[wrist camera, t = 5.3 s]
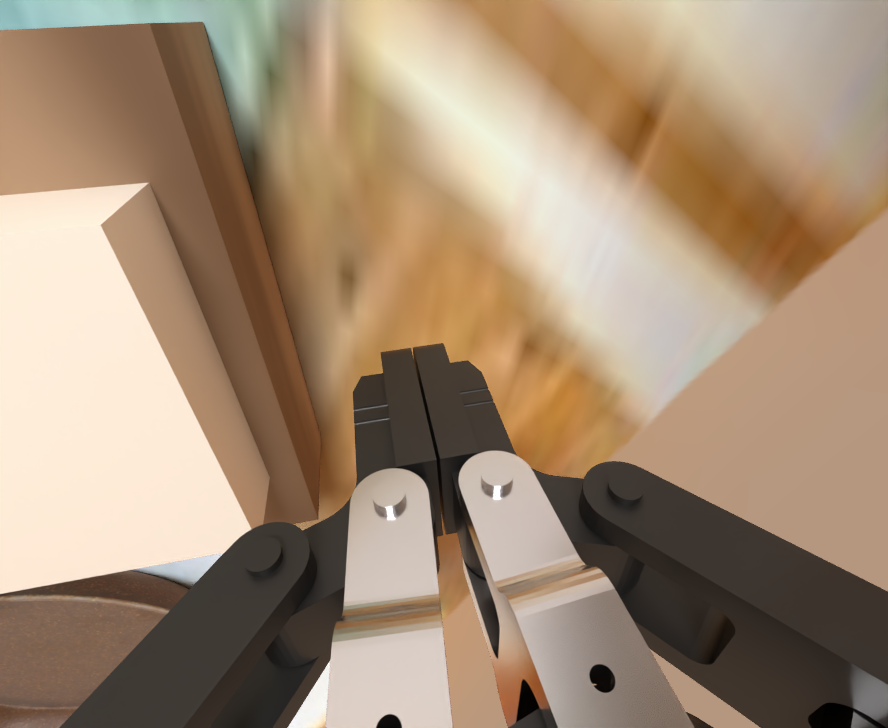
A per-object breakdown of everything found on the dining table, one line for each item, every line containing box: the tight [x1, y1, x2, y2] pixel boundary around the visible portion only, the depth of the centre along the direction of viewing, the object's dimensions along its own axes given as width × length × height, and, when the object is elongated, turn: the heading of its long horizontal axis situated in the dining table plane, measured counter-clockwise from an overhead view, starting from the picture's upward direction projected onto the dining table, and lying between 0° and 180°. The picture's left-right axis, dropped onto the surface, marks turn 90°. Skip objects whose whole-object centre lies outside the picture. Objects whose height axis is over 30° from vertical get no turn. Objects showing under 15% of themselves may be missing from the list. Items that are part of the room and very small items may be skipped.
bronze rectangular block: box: [0, 22, 321, 524], centre depth 13 cm, size 12×14×4 cm
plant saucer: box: [0, 570, 190, 728], centre depth 24 cm, size 18×18×3 cm
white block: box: [0, 183, 270, 594], centre depth 11 cm, size 7×9×2 cm
